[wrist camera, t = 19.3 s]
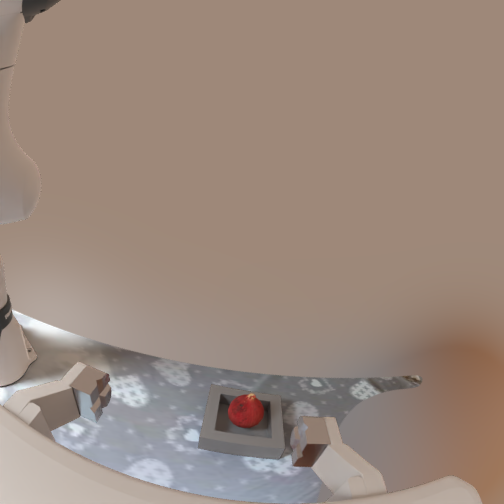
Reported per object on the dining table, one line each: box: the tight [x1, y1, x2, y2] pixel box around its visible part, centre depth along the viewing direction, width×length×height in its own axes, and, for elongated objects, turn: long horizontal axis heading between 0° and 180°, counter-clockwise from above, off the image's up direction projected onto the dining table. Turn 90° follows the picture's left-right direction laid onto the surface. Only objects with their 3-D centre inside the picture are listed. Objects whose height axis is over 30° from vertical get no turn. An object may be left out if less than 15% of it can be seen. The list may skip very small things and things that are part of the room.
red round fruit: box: [228, 393, 264, 428], centre depth 39 cm, size 6×6×8 cm
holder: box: [198, 384, 285, 459], centre depth 40 cm, size 13×13×4 cm
